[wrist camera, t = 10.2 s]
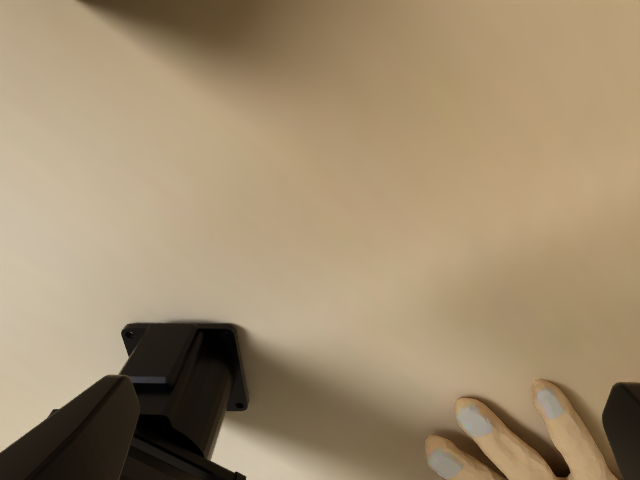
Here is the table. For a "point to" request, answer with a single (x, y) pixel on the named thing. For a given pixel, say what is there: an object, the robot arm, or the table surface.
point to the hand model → (518, 443)
